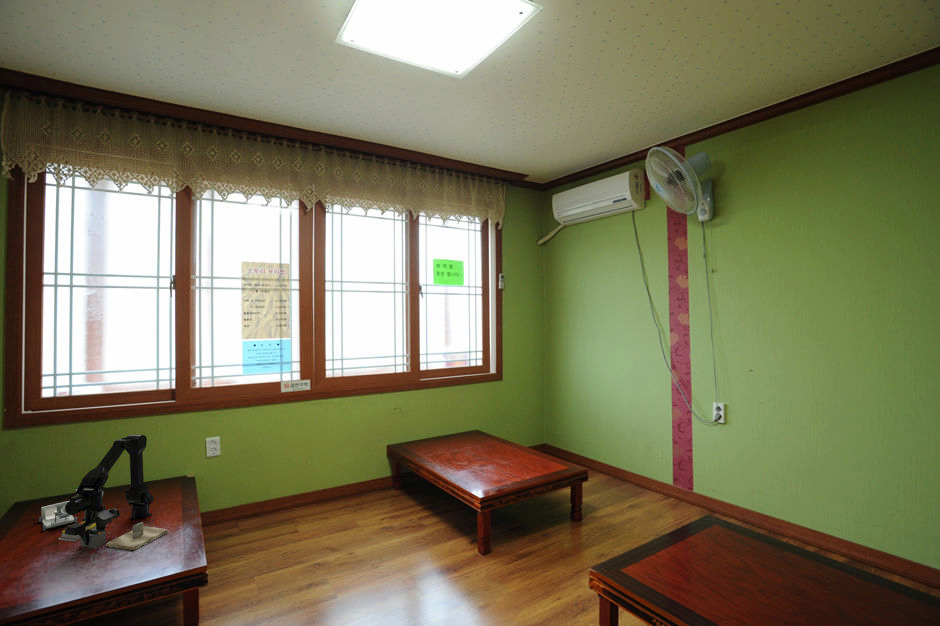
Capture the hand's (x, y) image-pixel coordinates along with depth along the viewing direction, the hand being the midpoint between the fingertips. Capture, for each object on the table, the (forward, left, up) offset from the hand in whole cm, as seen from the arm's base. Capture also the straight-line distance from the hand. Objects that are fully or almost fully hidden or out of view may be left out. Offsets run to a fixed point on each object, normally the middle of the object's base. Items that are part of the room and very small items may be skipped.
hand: (93, 541), depth 195 cm
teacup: (-34, -45, -1) cm, 56 cm away
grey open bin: (0, 0, -1) cm, 1 cm away
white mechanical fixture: (-11, -35, -2) cm, 37 cm away
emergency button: (-7, -15, -2) cm, 17 cm away
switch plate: (-8, +14, -1) cm, 16 cm away
